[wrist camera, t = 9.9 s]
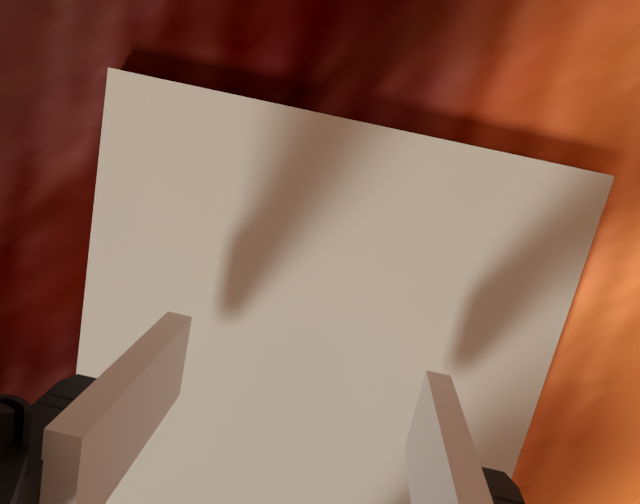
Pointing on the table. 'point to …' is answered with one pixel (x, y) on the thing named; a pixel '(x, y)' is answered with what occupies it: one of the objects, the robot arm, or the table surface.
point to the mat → (321, 289)
